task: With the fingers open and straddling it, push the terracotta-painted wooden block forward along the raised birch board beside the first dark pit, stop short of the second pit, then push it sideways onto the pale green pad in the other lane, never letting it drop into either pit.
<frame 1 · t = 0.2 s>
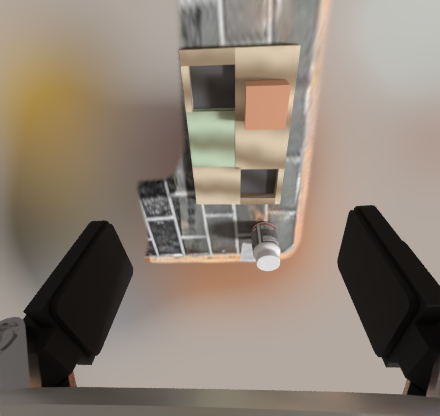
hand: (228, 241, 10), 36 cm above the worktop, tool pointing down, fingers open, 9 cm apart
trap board: (235, 136, 44), on the worktop
pill bottle: (263, 229, 57), on the worktop
block: (264, 101, 39), point 2 cm above the worktop, touching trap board
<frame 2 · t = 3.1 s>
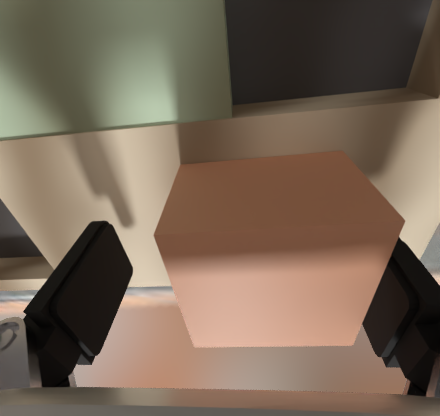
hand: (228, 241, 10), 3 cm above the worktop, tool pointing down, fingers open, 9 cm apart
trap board: (115, 116, 11), on the worktop
block: (260, 220, 11), point 2 cm above the worktop, touching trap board
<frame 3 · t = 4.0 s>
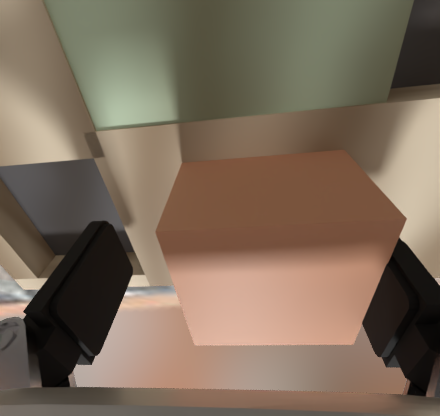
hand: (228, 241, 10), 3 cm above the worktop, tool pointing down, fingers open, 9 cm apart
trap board: (233, 103, 10), on the worktop
block: (261, 219, 11), point 2 cm above the worktop, touching gripper
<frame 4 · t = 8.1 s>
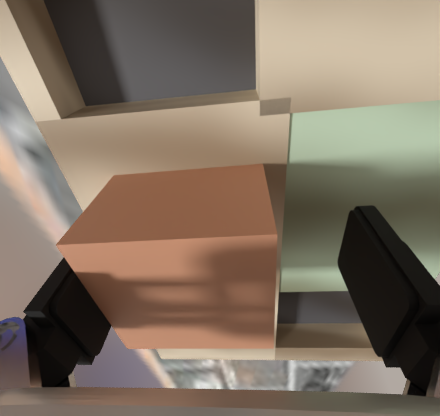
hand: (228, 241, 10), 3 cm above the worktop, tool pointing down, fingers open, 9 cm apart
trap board: (276, 201, 13), on the worktop
block: (198, 227, 11), point 2 cm above the worktop, touching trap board
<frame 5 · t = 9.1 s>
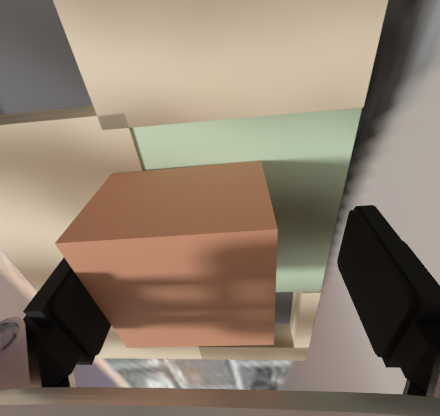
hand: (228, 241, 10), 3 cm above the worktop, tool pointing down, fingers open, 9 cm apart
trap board: (170, 207, 13), on the worktop
block: (196, 225, 11), point 2 cm above the worktop, touching gripper
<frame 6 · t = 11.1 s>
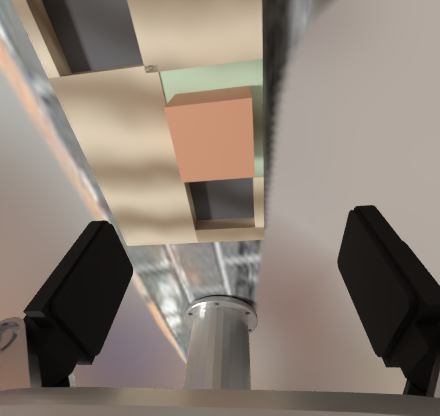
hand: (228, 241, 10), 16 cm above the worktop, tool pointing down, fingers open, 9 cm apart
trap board: (177, 127, 24), on the worktop
block: (216, 127, 22), point 2 cm above the worktop, touching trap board
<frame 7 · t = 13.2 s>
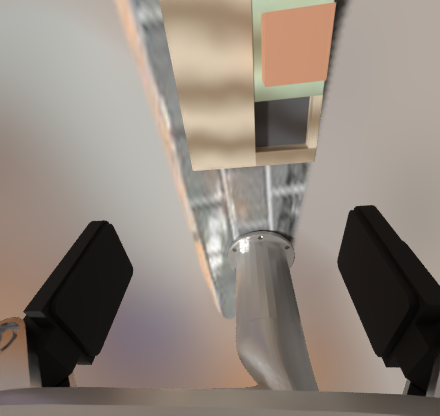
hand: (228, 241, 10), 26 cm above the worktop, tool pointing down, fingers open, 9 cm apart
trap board: (251, 52, 28), on the worktop
block: (289, 45, 26), point 2 cm above the worktop, touching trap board
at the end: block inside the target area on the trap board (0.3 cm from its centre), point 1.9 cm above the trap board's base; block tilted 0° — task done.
